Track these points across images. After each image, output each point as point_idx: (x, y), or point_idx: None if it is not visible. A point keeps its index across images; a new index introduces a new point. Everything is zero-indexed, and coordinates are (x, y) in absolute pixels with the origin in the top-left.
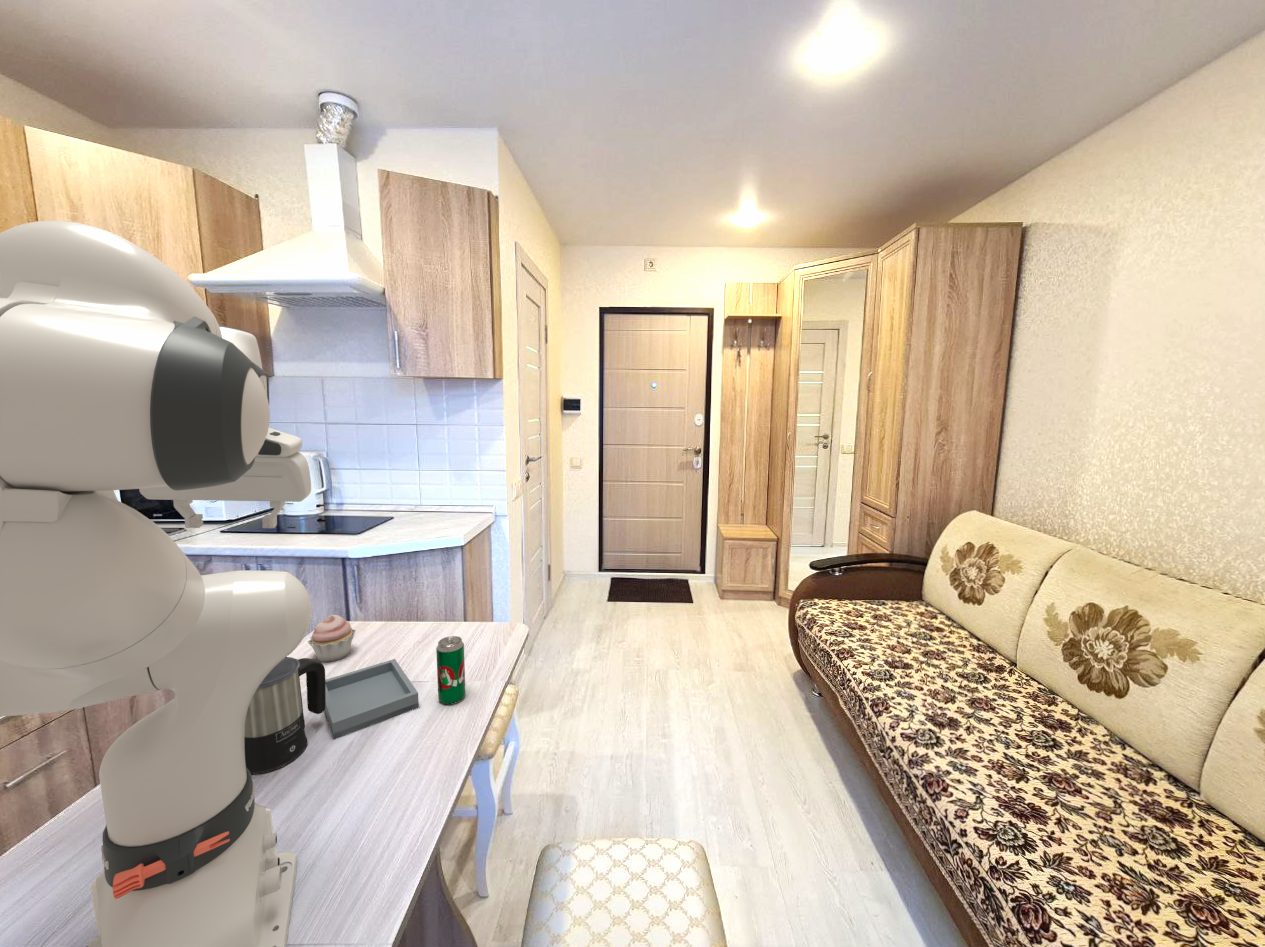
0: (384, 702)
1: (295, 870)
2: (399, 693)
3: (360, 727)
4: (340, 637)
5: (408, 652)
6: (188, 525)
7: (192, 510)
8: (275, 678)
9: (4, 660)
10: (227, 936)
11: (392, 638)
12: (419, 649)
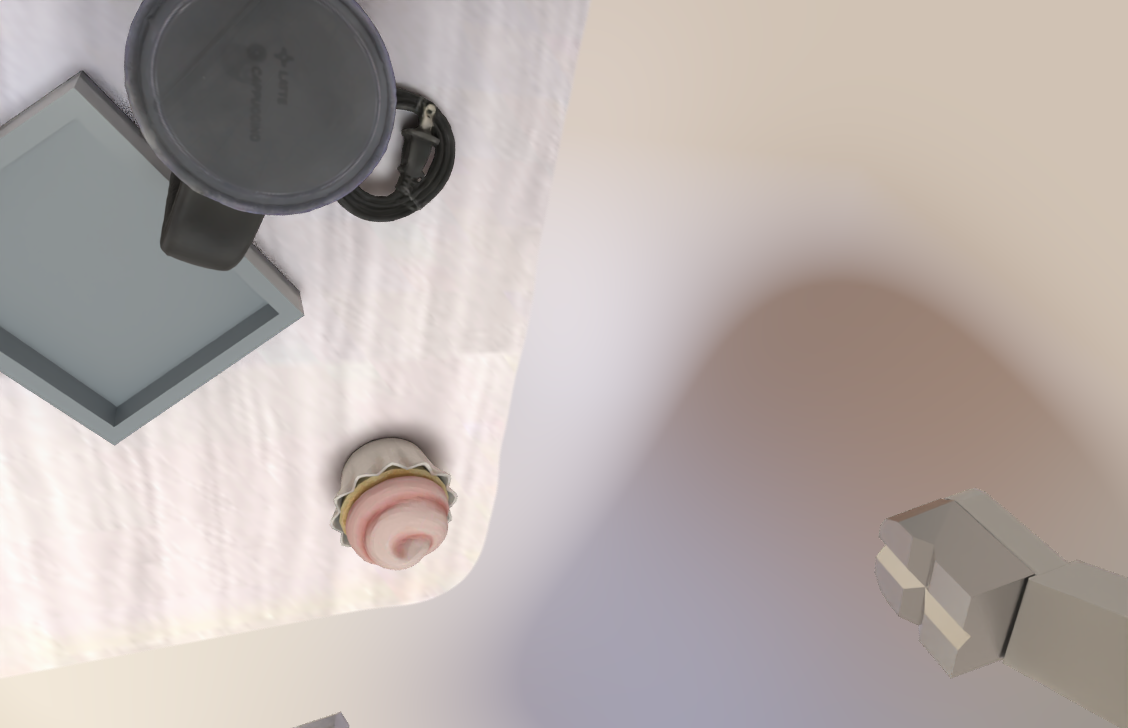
0: None
1: None
2: None
3: (12, 120)
4: (355, 500)
5: (147, 507)
6: (972, 506)
7: (1058, 681)
8: (178, 33)
9: None
10: None
11: (255, 559)
12: (117, 526)
